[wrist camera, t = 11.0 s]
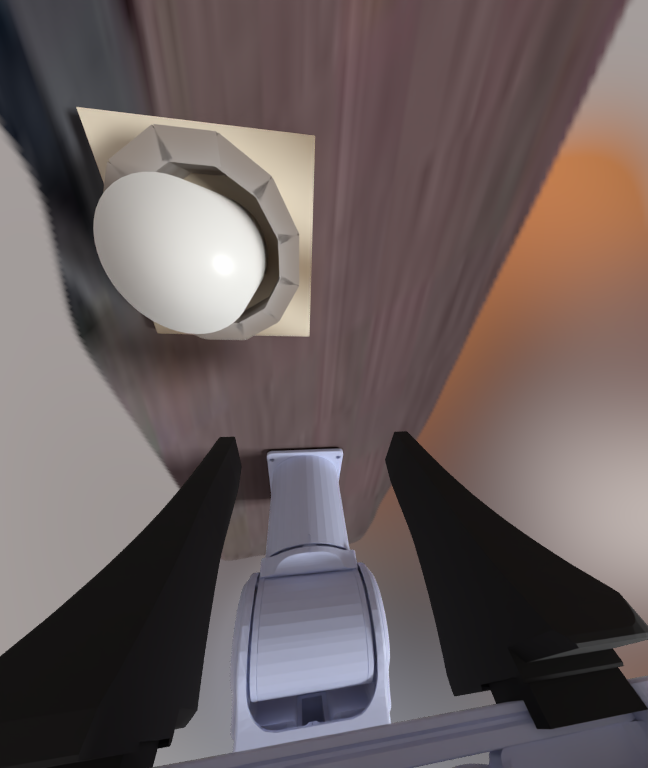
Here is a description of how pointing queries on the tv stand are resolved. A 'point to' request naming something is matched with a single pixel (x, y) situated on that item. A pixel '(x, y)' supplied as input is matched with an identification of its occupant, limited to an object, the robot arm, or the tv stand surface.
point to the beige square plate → (234, 180)
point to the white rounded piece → (179, 251)
